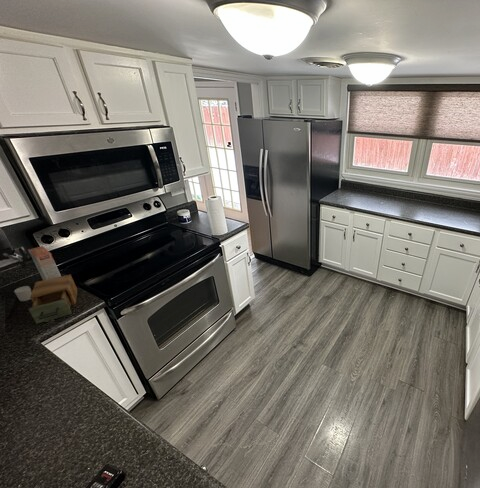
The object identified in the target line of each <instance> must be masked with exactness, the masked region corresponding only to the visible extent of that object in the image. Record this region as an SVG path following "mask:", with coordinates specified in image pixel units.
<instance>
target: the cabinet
mask: <svg viewBox="0 0 480 488" xmlns="http://www.w3.org/2000/svg"><path fill="white" fill-rule="evenodd" d="M63 290H67V292H68V294H69V296H70V299H71V306H74V305H76V304H77V297H78V288H77V285H76V283H75V281H74V279H73V276H72V274H70V273H69V274H66V275H61V277H56V278H52V279H47V280H43V279H42V280H39V281H36V282H35V283H34V286H33V289H32V294H31V296H30V298H31V299H30V300H31V302H32V304H33V303H34V300H35V298H36V297H39V296H43V295H47V294H51V293H55V292H59V291H63Z"/></svg>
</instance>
